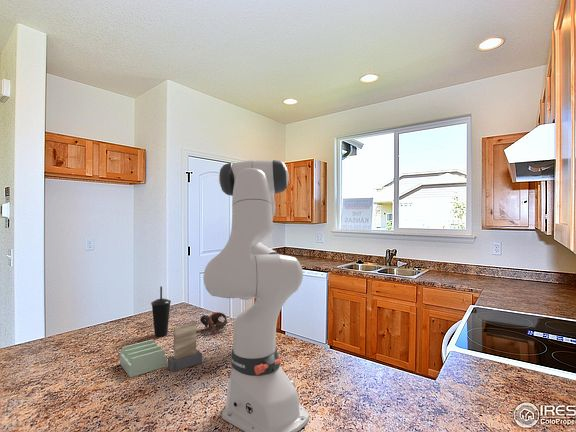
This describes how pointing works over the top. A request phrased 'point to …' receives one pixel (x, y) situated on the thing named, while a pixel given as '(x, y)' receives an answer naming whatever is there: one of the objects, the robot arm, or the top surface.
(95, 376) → the top surface
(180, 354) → the maple board
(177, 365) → the board stand
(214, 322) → the pottery mug
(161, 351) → the dish rack
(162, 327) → the drinking cup
